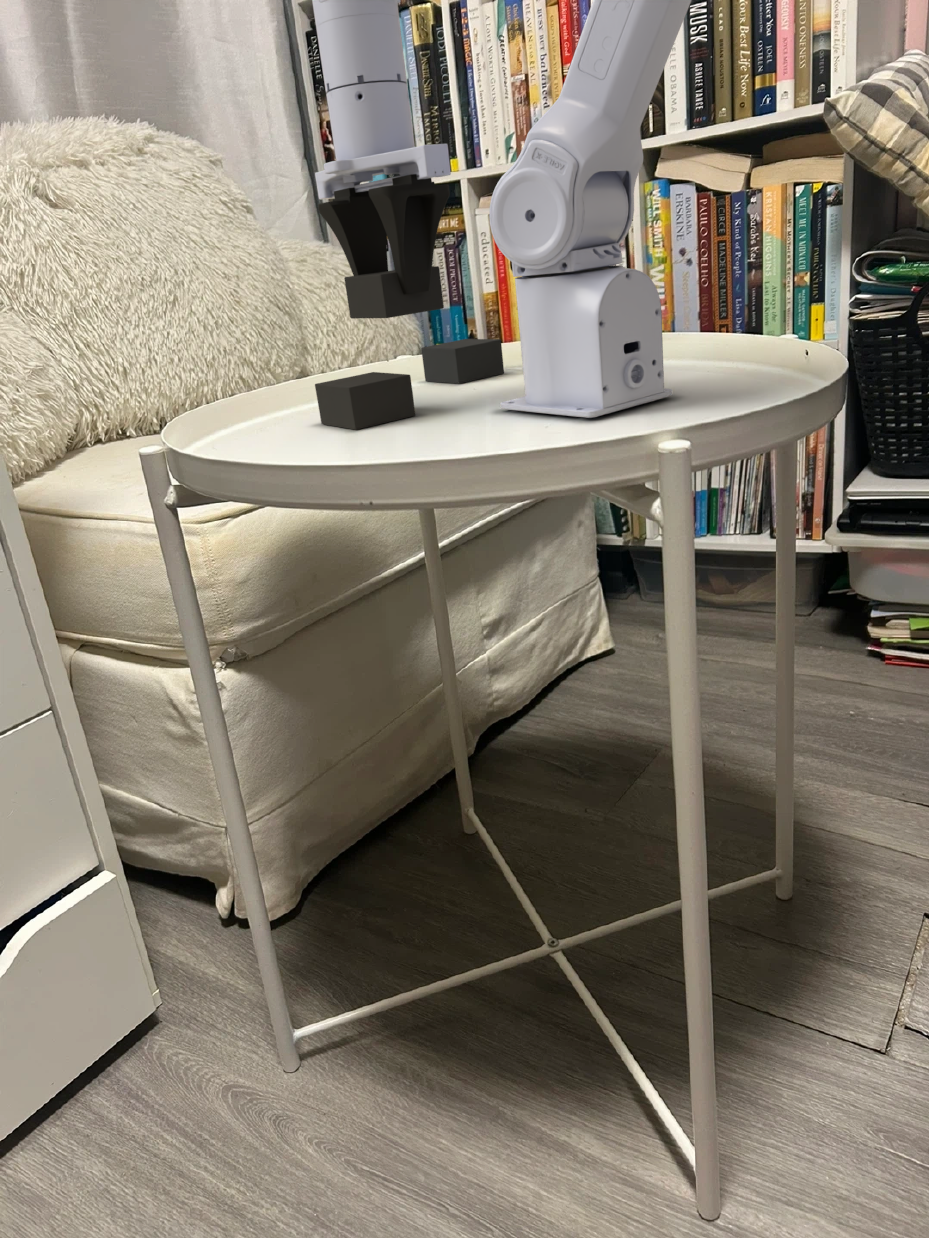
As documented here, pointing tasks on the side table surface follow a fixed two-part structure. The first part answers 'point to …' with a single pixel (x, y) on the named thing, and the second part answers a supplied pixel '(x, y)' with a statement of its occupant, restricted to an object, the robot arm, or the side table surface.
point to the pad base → (463, 360)
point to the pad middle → (390, 296)
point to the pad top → (365, 400)
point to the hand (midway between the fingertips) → (394, 294)
